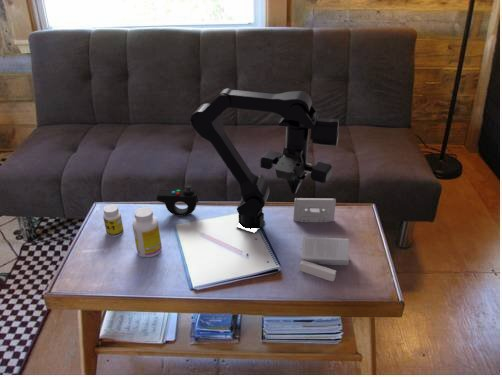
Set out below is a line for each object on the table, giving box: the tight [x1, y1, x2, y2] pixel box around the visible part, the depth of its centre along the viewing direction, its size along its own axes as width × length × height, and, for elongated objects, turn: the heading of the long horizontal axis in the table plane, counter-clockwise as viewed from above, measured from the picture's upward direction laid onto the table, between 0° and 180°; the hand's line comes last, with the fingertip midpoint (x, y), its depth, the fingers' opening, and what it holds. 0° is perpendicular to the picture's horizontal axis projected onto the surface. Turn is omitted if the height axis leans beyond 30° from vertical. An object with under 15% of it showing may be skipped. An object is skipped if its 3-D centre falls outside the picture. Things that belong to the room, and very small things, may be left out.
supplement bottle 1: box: [102, 204, 124, 238], centre depth 132 cm, size 5×5×8 cm
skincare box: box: [301, 236, 350, 266], centre depth 121 cm, size 6×4×12 cm
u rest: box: [299, 259, 337, 282], centre depth 122 cm, size 9×11×2 cm
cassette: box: [292, 197, 337, 223], centre depth 137 cm, size 12×2×8 cm, turn 89°
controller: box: [156, 184, 199, 217], centre depth 139 cm, size 4×12×10 cm, turn 90°
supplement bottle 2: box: [132, 206, 162, 258], centre depth 124 cm, size 7×7×13 cm
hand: (294, 193), depth 127 cm, fingers closed
